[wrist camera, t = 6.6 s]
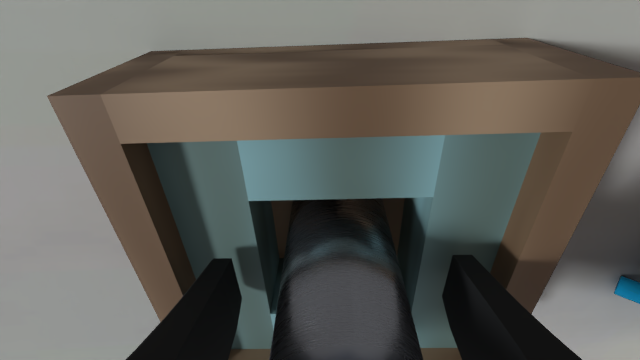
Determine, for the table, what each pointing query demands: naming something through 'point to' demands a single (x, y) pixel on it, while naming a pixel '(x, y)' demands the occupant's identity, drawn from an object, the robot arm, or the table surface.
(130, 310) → the table surface
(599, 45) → the table surface
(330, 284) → the peg
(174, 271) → the bore box
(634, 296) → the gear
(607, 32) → the table surface
